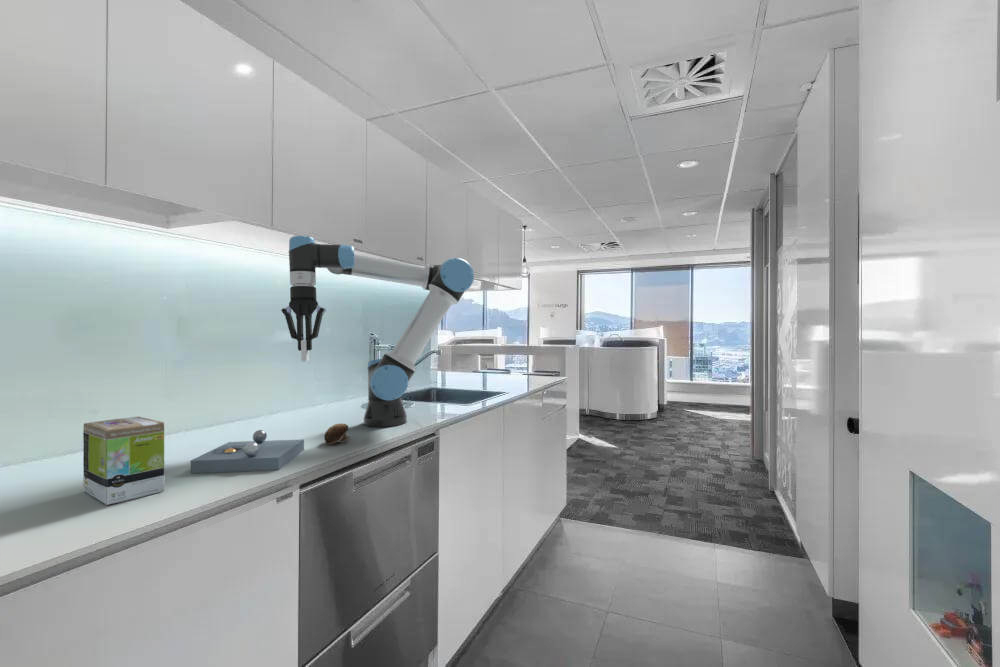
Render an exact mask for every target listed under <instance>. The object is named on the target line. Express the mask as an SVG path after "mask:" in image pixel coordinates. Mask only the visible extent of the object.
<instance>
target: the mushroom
mask: <svg viewBox="0 0 1000 667" xmlns="http://www.w3.org/2000/svg"><path fill="white" fill-rule="evenodd" d="M348 430H349V426H348V424H346V423H335V424H333V425H332V426H330V427H329V428H328V429H327V430H326V431H325V433H324V438H323V439H324V442H325V443H326V445H333V444H336V442H338V443H341V444H342V443H344V442H346V441H347V440H348V439H349V438H350V436H349V435H347V434H346V433H347V432H348Z"/></svg>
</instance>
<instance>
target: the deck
mask: <svg viewBox="0 0 1000 667" xmlns="http://www.w3.org/2000/svg"><path fill="white" fill-rule="evenodd" d="M250 442H255V441H254V440H249V441H248V440H247V441H246V440H245V441H228V442H226V443H224V444H222V445H220V446H218V447H216V448H214V449H211V450H210V451H208V452H207V451H206V453H203V454H202V455H200V456H197V457H195V458H192V459H191V460H190V461H189V462H190V463H189V464H190V474H208V473H209V474H210V473H235V472H237V473H238V472H258V471H259V472H260V471H279V470H280V469H282V468H283V467H284V466H286V465H287V464H288V463H290V462H291V461H292V460H294V459H295V458H297V456H299V455H300V454H301V453H303V451H305V439H280V440H279V439H278V440H265V441H263V442H261V443H257V442H255V443H257V444H258V445H259V447H260V450H259V452H258V454H257V455H255V456H252V457H250V456H247V455H246V454H245V453H244V447H245V446H246V445H247V444H248V443H250ZM229 448H233V449H235V450H236V451H234V452H224V451H225V450H226V449H229Z"/></svg>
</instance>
